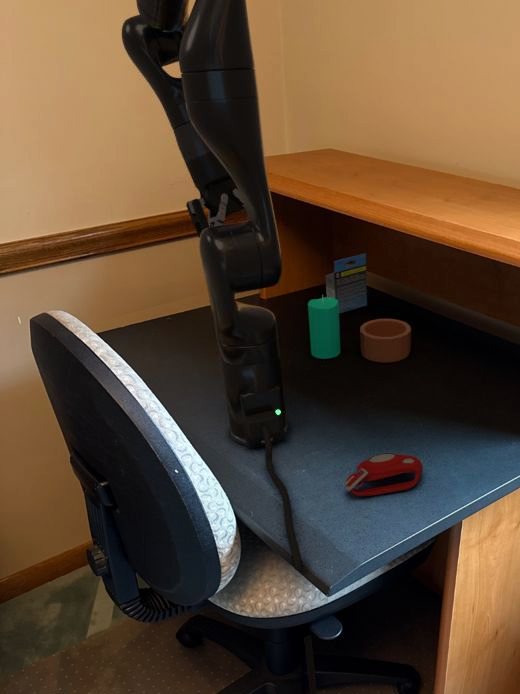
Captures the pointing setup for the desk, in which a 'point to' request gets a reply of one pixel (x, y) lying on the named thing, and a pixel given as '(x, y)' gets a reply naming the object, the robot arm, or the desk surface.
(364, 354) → the holder
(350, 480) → the tracker holder
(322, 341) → the candle
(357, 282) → the tape cartridge
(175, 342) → the desk surface
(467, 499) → the desk surface
